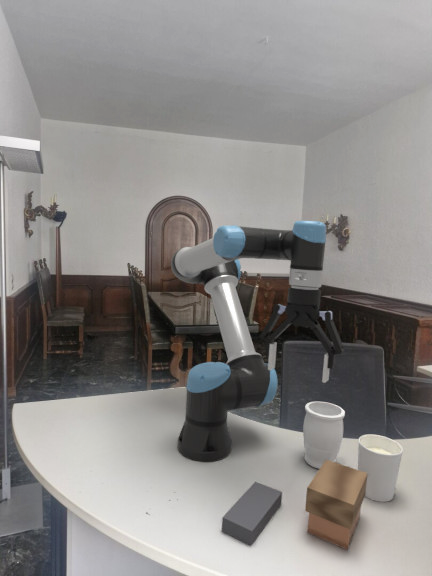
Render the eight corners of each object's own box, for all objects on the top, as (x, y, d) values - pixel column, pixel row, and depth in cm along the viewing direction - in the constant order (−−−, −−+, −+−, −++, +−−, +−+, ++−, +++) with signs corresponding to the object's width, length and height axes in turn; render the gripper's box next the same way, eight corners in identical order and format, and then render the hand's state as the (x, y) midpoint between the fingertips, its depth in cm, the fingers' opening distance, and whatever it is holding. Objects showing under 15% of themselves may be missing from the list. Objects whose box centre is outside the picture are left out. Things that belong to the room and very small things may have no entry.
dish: (307, 532, 81) (309, 509, 80) (323, 503, 90) (325, 483, 89) (347, 549, 77) (350, 525, 76) (359, 518, 86) (362, 496, 85)
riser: (221, 531, 79) (222, 517, 79) (254, 493, 92) (255, 481, 92) (251, 545, 76) (252, 531, 76) (281, 504, 89) (282, 492, 89)
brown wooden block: (305, 511, 79) (307, 487, 79) (323, 480, 91) (325, 459, 90) (351, 529, 75) (353, 505, 74) (365, 495, 86) (367, 473, 85)
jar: (341, 475, 102) (347, 419, 100) (300, 468, 104) (305, 413, 102) (337, 454, 112) (342, 403, 111) (300, 449, 114) (304, 398, 113)
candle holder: (394, 510, 89) (399, 459, 88) (349, 493, 94) (354, 445, 93) (399, 488, 98) (405, 442, 96) (358, 474, 103) (363, 430, 101)
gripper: (250, 282, 97) (244, 367, 99) (355, 294, 84) (346, 391, 86) (263, 281, 103) (257, 360, 106) (363, 292, 91) (354, 382, 93)
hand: (297, 374), depth 96 cm, fingers open, 13 cm apart
